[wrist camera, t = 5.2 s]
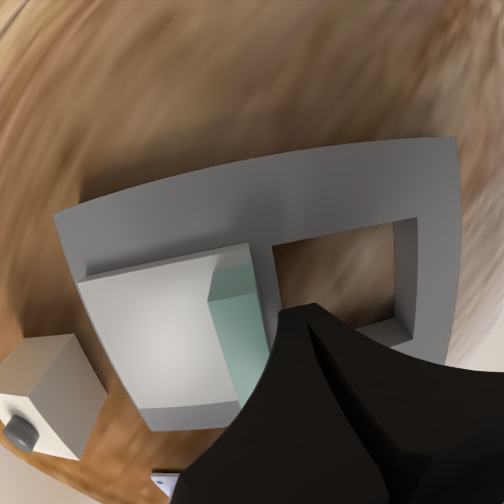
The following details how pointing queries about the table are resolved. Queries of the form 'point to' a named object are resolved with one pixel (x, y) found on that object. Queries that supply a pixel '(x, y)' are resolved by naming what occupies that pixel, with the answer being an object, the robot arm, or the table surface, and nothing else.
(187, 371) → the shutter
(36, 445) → the plug
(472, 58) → the table surface
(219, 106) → the table surface
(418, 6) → the table surface
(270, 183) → the socket plate
